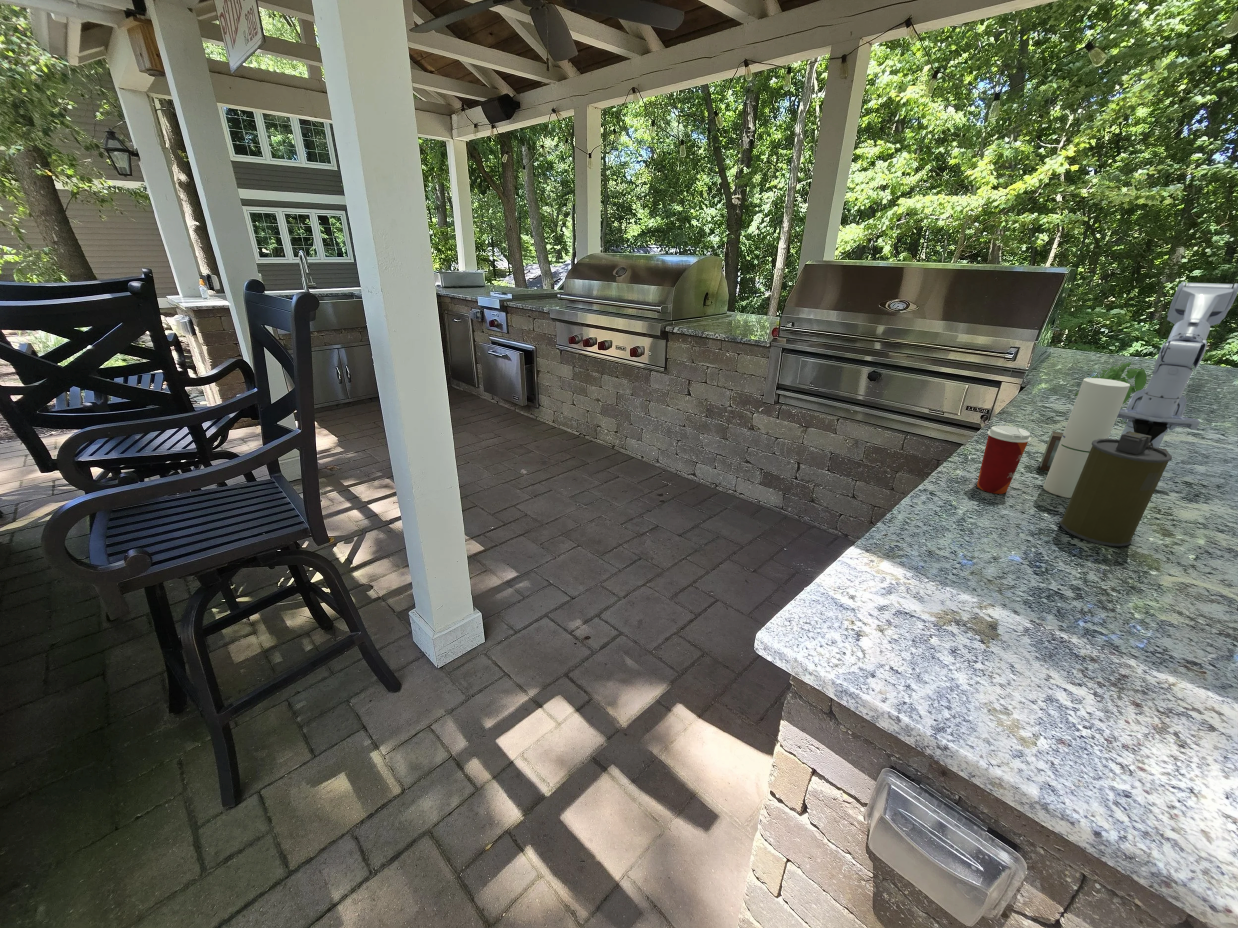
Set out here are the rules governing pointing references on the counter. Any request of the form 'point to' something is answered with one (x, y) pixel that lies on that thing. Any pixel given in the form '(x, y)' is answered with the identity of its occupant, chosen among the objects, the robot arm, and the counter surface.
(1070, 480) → the cylindrical container
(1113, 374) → the plant cuttings
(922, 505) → the counter surface
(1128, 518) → the canister
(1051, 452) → the window frame
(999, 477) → the paper cup
